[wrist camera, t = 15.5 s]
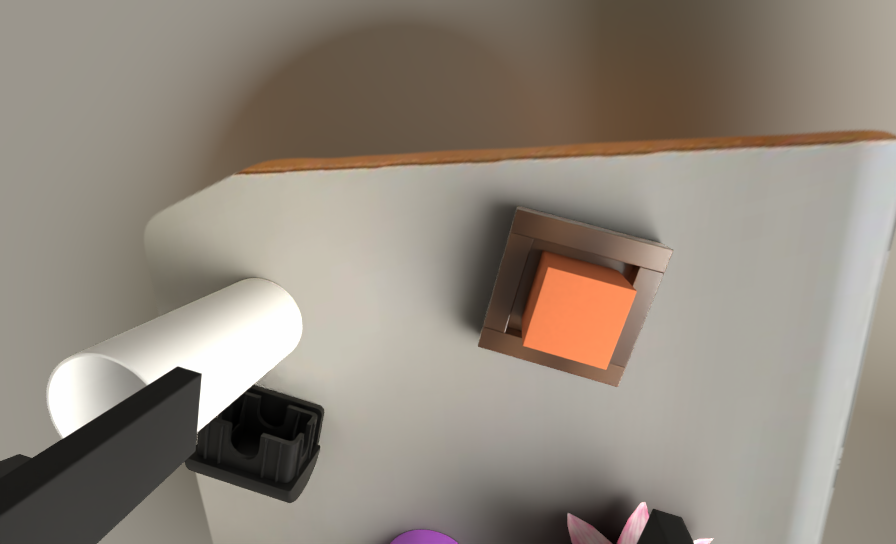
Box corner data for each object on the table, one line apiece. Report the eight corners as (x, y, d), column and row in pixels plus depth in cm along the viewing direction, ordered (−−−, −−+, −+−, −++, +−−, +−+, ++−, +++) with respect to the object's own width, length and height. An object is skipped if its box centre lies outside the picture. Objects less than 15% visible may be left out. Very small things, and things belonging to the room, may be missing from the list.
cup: (301, 366, 41) (174, 488, 26) (222, 352, 42) (55, 462, 27) (303, 284, 39) (165, 366, 24) (219, 272, 40) (35, 341, 25)
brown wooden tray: (480, 334, 38) (477, 346, 35) (517, 205, 34) (517, 208, 32) (611, 372, 37) (618, 387, 34) (662, 243, 33) (673, 250, 31)
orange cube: (521, 318, 36) (522, 345, 30) (542, 249, 34) (547, 266, 29) (592, 338, 35) (606, 370, 30) (618, 270, 33) (637, 291, 28)
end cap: (229, 437, 45) (180, 484, 38) (235, 378, 43) (185, 418, 36) (319, 466, 44) (285, 519, 37) (330, 408, 42) (296, 453, 35)
